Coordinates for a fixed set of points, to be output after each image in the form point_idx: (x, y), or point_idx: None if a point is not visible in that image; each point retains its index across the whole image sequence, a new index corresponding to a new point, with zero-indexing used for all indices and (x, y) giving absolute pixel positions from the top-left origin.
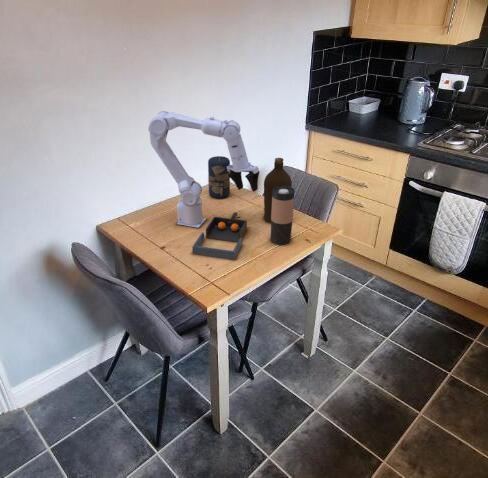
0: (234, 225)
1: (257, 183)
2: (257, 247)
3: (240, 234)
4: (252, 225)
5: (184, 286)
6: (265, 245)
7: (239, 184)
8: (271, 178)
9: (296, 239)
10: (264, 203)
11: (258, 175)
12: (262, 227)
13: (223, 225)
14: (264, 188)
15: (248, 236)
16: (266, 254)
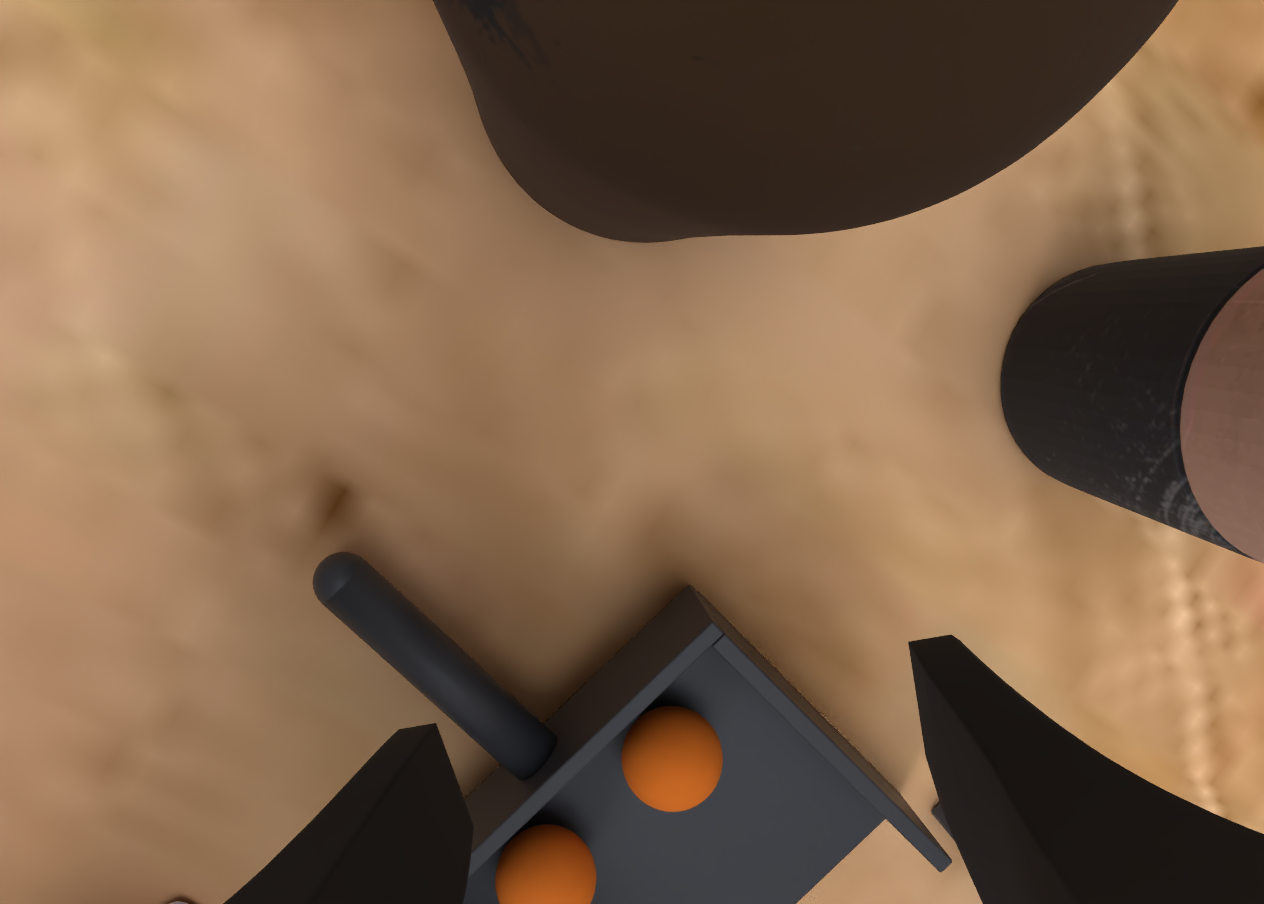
0: (697, 795)
1: (1035, 711)
2: (1076, 680)
3: (931, 836)
4: (633, 460)
5: None
6: (1093, 586)
7: (428, 890)
8: (990, 79)
9: (1195, 204)
10: (602, 220)
11: (1262, 847)
12: (745, 380)
13: (590, 888)
14: (658, 218)
15: (835, 645)
16: (1228, 672)
